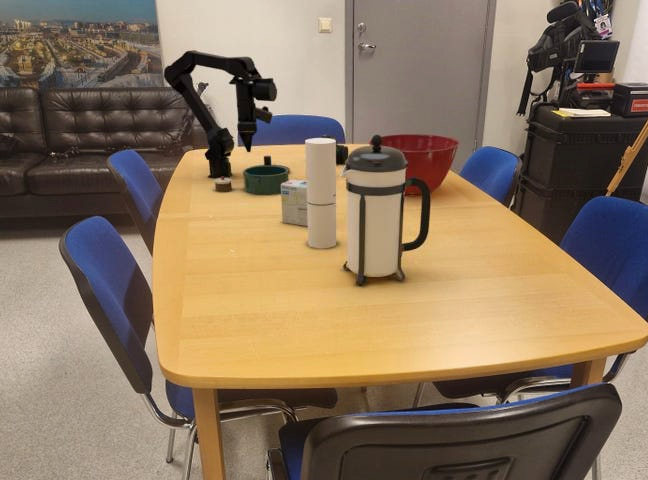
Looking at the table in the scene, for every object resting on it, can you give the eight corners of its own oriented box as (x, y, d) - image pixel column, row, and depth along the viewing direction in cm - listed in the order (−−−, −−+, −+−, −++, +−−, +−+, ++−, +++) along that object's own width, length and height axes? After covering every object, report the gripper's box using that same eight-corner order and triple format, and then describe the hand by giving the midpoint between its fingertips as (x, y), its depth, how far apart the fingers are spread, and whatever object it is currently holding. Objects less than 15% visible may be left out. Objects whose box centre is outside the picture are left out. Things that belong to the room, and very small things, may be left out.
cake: (212, 191, 202) (211, 177, 200) (219, 187, 207) (218, 173, 205) (228, 192, 201) (226, 178, 199) (234, 188, 206) (233, 174, 203)
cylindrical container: (340, 241, 161) (340, 139, 148) (330, 249, 155) (329, 144, 142) (314, 237, 163) (312, 137, 150) (303, 246, 157) (300, 142, 144)
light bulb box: (327, 221, 175) (326, 182, 170) (315, 228, 170) (314, 188, 164) (293, 216, 179) (291, 178, 174) (281, 222, 174) (279, 183, 168)
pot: (234, 195, 198) (232, 176, 196) (257, 180, 215) (256, 162, 212) (277, 198, 195) (276, 179, 193) (297, 183, 212) (296, 165, 209)
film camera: (347, 168, 232) (348, 140, 227) (314, 168, 232) (313, 140, 227) (348, 158, 247) (348, 131, 242) (317, 157, 247) (316, 131, 242)
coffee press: (390, 294, 131) (396, 145, 116) (327, 278, 139) (325, 136, 124) (427, 268, 144) (436, 131, 129) (367, 255, 151) (370, 124, 137)
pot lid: (239, 175, 221) (238, 159, 218) (256, 166, 234) (255, 150, 231) (281, 178, 217) (280, 162, 215) (295, 169, 230) (294, 153, 228)
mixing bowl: (355, 196, 198) (355, 145, 190) (385, 176, 221) (386, 130, 213) (442, 206, 189) (446, 153, 181) (464, 184, 212) (468, 136, 204)
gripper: (271, 103, 197) (273, 154, 205) (269, 95, 213) (272, 143, 221) (235, 103, 196) (239, 155, 203) (236, 96, 212) (240, 144, 219)
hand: (248, 149), depth 212 cm, fingers open, 9 cm apart
